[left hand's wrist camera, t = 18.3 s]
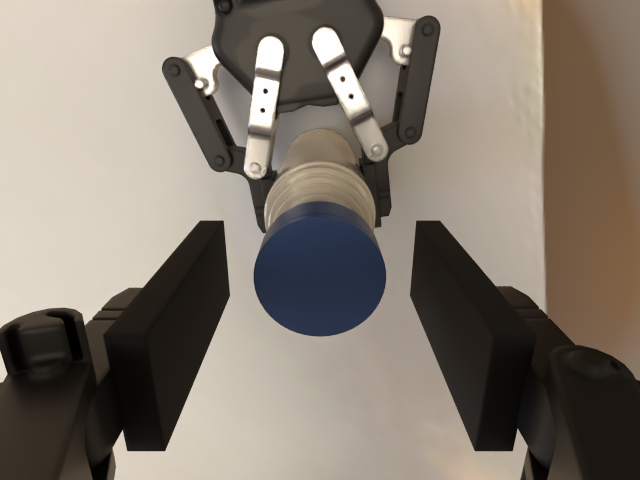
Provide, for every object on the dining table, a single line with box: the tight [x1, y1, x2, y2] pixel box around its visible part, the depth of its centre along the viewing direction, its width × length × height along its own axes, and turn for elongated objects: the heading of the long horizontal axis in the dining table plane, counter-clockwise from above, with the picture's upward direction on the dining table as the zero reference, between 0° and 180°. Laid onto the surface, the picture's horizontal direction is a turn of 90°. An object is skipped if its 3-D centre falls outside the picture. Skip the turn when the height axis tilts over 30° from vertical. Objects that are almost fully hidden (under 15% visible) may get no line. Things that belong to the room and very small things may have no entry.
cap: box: [254, 201, 386, 336], centre depth 13 cm, size 4×4×2 cm
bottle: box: [264, 129, 376, 232], centre depth 22 cm, size 5×5×18 cm
